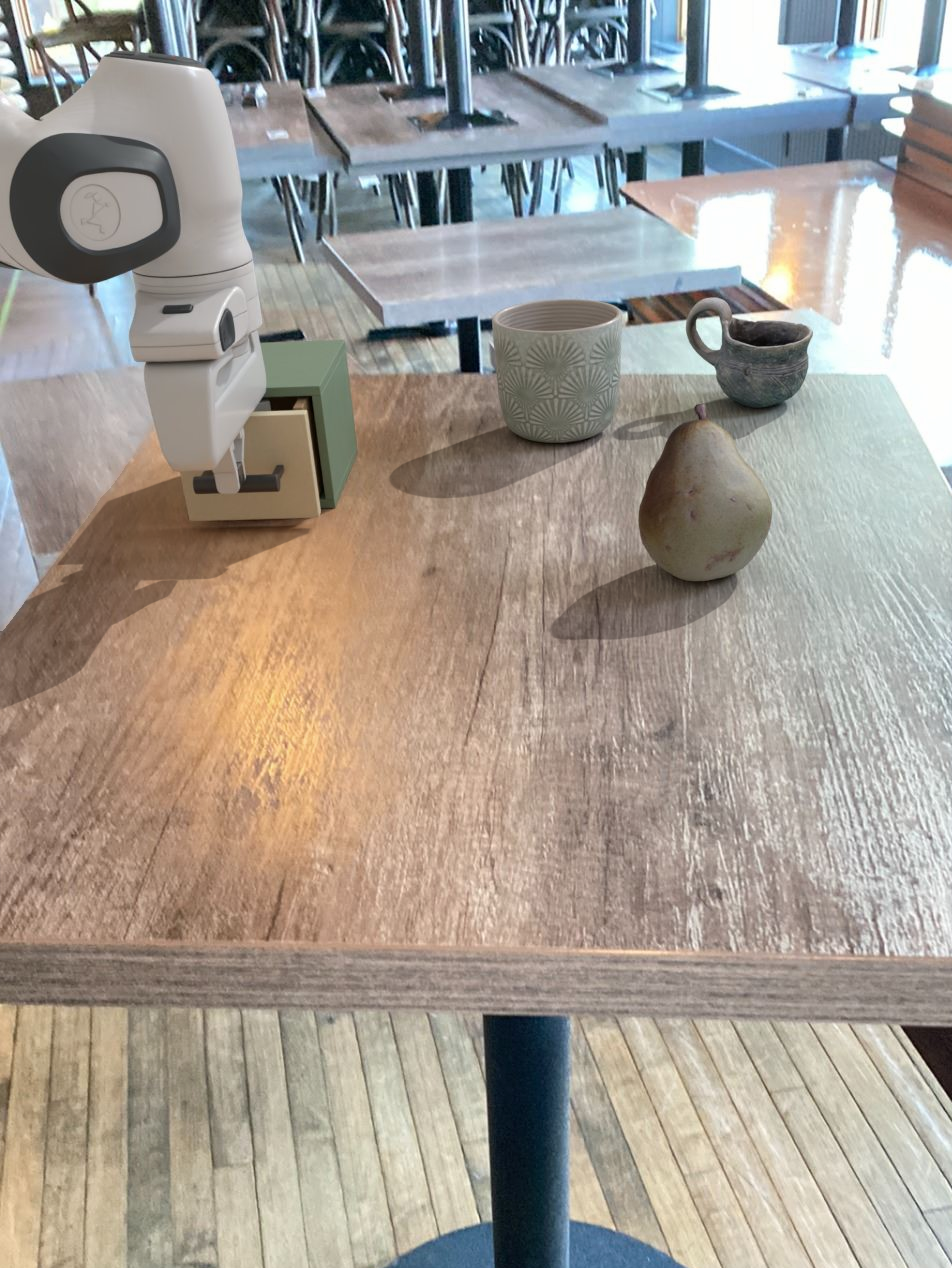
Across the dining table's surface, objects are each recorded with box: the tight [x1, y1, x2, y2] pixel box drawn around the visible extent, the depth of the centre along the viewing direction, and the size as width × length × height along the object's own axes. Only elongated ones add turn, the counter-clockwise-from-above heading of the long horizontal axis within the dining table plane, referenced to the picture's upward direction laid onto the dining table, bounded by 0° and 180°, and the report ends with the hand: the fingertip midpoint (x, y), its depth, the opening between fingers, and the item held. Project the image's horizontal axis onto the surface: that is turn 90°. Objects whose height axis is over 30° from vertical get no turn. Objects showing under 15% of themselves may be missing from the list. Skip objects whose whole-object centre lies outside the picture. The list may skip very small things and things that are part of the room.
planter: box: [491, 298, 623, 444], centre depth 129 cm, size 12×12×11 cm
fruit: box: [637, 403, 773, 582], centre depth 100 cm, size 10×9×12 cm
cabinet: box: [260, 339, 359, 509], centre depth 121 cm, size 15×13×11 cm
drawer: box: [179, 396, 324, 522], centre depth 116 cm, size 18×11×9 cm, turn 177°
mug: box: [685, 297, 814, 408], centre depth 133 cm, size 10×12×10 cm
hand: (232, 488), depth 107 cm, fingers closed
